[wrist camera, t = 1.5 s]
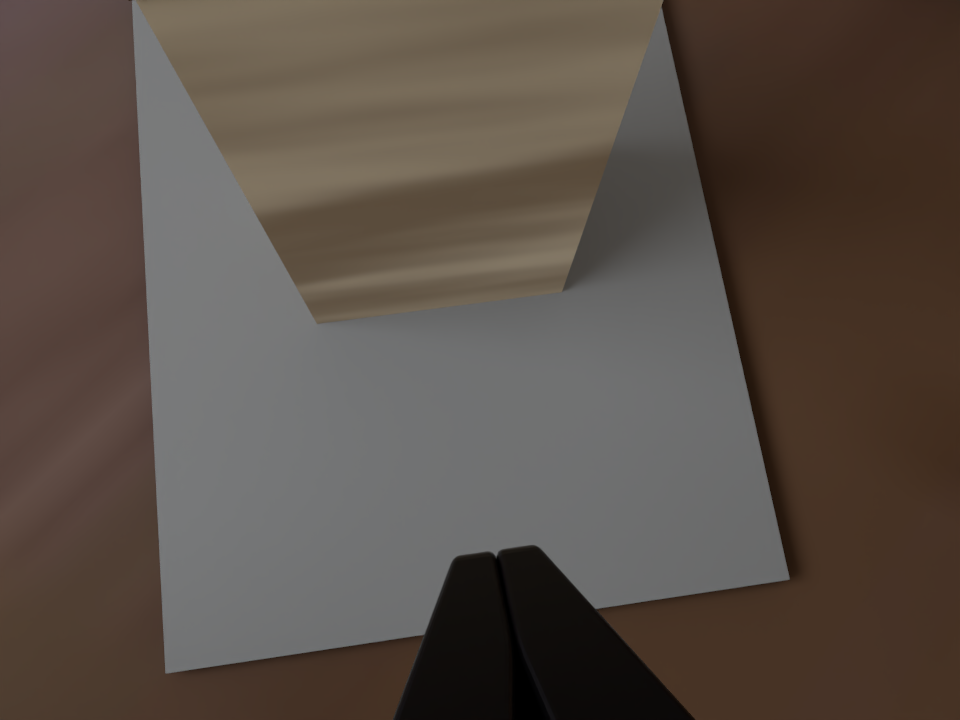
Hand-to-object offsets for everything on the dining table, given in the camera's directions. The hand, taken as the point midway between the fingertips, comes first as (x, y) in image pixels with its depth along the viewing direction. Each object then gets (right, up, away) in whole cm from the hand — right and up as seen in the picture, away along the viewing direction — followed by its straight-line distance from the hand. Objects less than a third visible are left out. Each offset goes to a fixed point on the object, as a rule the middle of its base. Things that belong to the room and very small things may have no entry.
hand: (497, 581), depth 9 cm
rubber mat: (-2, +9, +14) cm, 17 cm away
